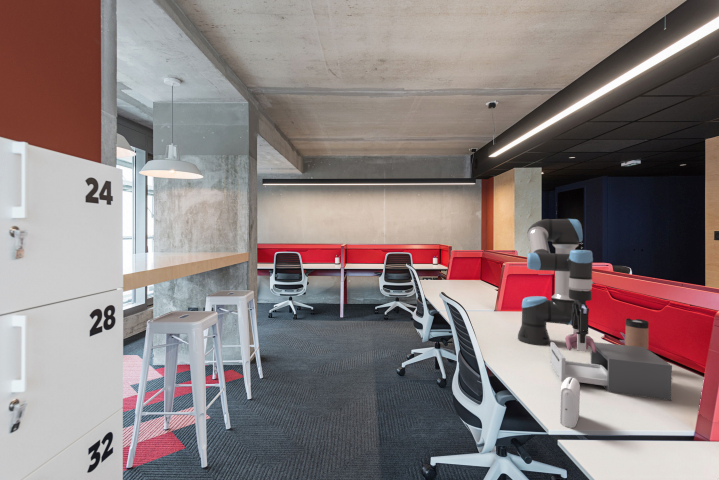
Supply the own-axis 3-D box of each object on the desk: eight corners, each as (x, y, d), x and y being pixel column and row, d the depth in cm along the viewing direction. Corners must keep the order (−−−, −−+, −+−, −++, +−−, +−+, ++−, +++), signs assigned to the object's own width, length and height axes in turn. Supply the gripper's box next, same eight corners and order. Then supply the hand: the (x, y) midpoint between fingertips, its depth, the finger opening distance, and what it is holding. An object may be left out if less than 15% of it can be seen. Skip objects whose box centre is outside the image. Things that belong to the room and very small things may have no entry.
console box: (608, 391, 120) (609, 358, 120) (590, 370, 139) (591, 341, 138) (671, 400, 114) (672, 365, 114) (643, 377, 133) (644, 347, 133)
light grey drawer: (560, 381, 125) (560, 357, 125) (549, 362, 144) (549, 341, 143) (619, 389, 119) (620, 364, 118) (600, 368, 138) (600, 347, 137)
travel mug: (642, 371, 138) (643, 323, 138) (621, 365, 145) (622, 319, 145) (651, 368, 142) (652, 321, 141) (630, 362, 149) (631, 317, 148)
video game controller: (594, 354, 130) (591, 335, 133) (598, 352, 126) (595, 333, 129) (565, 351, 134) (563, 333, 136) (568, 350, 130) (566, 331, 132)
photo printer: (575, 430, 96) (576, 387, 96) (558, 424, 99) (559, 383, 98) (580, 415, 104) (581, 376, 104) (564, 410, 107) (565, 372, 106)
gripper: (599, 293, 121) (598, 357, 121) (584, 286, 138) (583, 342, 139) (575, 292, 123) (574, 354, 124) (563, 285, 141) (562, 340, 141)
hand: (579, 348), depth 131 cm, fingers closed on video game controller, 6 cm apart
